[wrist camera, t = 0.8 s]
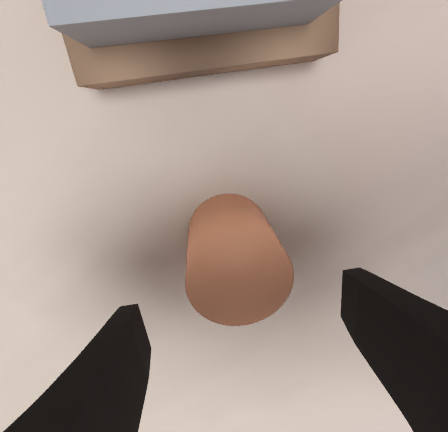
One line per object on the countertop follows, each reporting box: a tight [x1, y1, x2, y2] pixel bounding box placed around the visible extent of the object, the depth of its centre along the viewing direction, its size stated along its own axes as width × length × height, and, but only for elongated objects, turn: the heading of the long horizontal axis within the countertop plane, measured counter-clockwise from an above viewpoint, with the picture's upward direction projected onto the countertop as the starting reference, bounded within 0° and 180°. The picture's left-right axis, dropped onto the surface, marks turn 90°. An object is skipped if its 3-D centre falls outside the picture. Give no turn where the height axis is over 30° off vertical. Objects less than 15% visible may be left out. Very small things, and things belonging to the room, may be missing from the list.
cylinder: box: [185, 194, 294, 326], centre depth 14 cm, size 4×4×5 cm
